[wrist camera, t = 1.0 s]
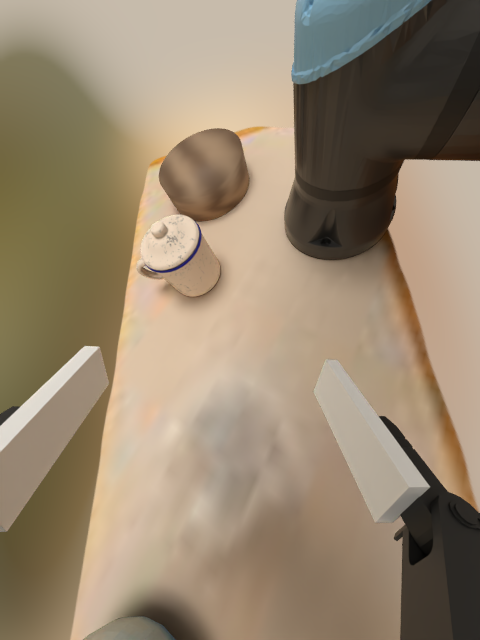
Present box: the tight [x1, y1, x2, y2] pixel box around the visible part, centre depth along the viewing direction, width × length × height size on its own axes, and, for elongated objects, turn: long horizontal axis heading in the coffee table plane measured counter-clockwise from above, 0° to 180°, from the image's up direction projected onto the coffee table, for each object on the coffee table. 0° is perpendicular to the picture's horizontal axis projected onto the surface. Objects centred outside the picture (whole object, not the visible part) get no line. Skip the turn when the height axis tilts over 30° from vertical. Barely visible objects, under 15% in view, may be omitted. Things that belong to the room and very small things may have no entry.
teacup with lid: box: [137, 215, 220, 297], centre depth 31 cm, size 12×9×12 cm
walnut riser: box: [159, 129, 249, 221], centre depth 40 cm, size 16×16×6 cm
